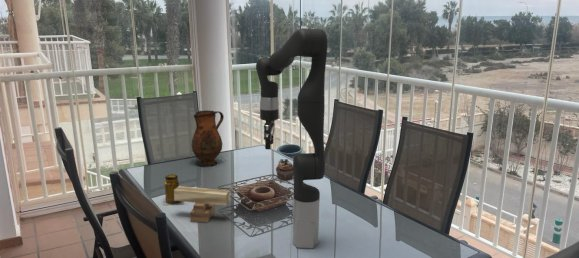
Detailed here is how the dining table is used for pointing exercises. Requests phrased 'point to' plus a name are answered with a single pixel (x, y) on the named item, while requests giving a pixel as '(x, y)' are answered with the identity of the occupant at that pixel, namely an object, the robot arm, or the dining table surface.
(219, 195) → the batten
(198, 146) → the pitcher
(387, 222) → the dining table surface
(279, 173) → the cupcake
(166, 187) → the condiment
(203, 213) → the stair steps
